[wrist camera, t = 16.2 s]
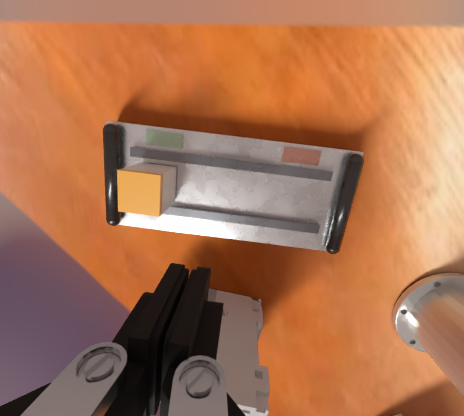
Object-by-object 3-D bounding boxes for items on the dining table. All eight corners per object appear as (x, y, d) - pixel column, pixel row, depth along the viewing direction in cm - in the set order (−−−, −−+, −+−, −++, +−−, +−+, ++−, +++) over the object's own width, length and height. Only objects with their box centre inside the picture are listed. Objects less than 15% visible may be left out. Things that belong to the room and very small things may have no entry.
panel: (354, 150, 29) (371, 153, 25) (330, 243, 33) (341, 259, 29) (117, 121, 30) (97, 120, 26) (119, 216, 33) (102, 228, 29)
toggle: (176, 166, 28) (160, 175, 23) (174, 201, 29) (159, 216, 24) (141, 162, 28) (117, 170, 23) (140, 196, 29) (118, 211, 24)
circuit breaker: (163, 278, 36) (108, 377, 21) (261, 299, 36) (271, 411, 22) (157, 320, 38) (104, 435, 24) (249, 339, 38) (251, 465, 24)
